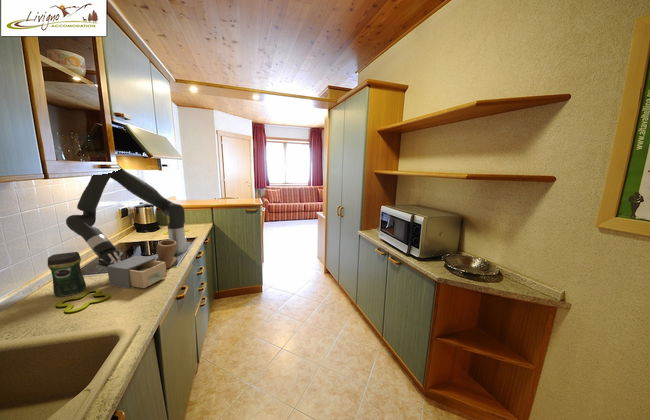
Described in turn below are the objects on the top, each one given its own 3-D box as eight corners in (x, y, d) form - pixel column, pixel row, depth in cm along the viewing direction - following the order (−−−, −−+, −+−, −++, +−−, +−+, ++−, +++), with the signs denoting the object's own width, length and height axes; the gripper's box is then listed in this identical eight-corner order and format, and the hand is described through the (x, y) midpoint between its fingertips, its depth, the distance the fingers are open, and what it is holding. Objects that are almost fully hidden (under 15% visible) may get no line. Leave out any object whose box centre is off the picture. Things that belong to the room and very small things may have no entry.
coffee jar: (89, 285, 110) (82, 249, 106) (82, 293, 103) (74, 254, 100) (60, 290, 105) (52, 252, 102) (50, 299, 98) (42, 258, 95)
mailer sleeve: (139, 272, 124) (136, 255, 122) (157, 275, 121) (155, 257, 119) (110, 285, 110) (106, 266, 108) (129, 288, 108) (126, 269, 106)
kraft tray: (136, 271, 123) (134, 257, 121) (166, 276, 118) (165, 262, 117) (111, 282, 111) (108, 267, 110) (143, 288, 107) (141, 272, 105)
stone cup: (175, 269, 129) (172, 243, 127) (150, 271, 126) (147, 245, 123) (182, 259, 143) (180, 236, 141) (160, 260, 140) (157, 237, 137)
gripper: (88, 245, 110) (111, 272, 109) (118, 237, 122) (139, 261, 122) (82, 254, 112) (104, 280, 111) (112, 245, 124) (133, 269, 124)
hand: (123, 270), depth 117 cm, fingers closed
